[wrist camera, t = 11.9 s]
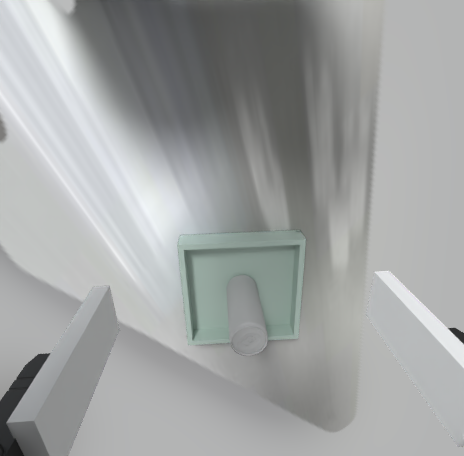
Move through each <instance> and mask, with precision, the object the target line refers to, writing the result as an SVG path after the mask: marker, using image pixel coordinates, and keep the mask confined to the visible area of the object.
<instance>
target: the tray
mask: <svg viewBox="0 0 464 456" xmlns="http://www.w3.org/2000/svg"><path fill="white" fill-rule="evenodd" d="M177 247H178V256H179V266H180V275H181V284H182V294H183V303H184V312H185V321H186V331H187V340H188V345H200V344H217V343H230V340H229V323H228V306H227V285H228V283H229V281H230V280H231V279H232V278H233V277H235V276H238V275H247V276H249V277H251V278H252V279H254V281H255V282H256V285H257V289H258V293H259V298H260V302H261V307H262V311H263V316H264V320H265V325H266V329H267V333H268V340H283V339H298V335H299V323H300V310H301V297H302V285H303V272H304V260H305V247H306V238H305V237H304V235H303V234H302V232H301V231H300V230H283V231H261V232H239V233H217V234H194V235H180V237H179V241H178V245H177Z"/></svg>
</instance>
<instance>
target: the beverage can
mask: <svg viewBox="0 0 464 456" xmlns="http://www.w3.org/2000/svg"><path fill="white" fill-rule="evenodd" d="M227 306H228V323H229V340H230V343H231V346H232V349H233V350H234V351H235V352H236V353H238V354H240V355H244V356H252V355H256V354H258V353H260V352H261V351H263V350H264V349H265V347H266V345H267V342H268V333H267V329H266V325H265V320H264V316H263V311H262V307H261V302H260V298H259V293H258V289H257V285H256V282H255V281H254V279H252V278H251V277H249V276H247V275H238V276H235V277H233V278H232V279H231V280H230V281H229V283H228V285H227Z"/></svg>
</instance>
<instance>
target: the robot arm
mask: <svg viewBox="0 0 464 456" xmlns="http://www.w3.org/2000/svg"><path fill="white" fill-rule="evenodd" d="M366 316H367V317H368V319H369V320H370V322H371V323H372V325H373V326H374V328H375V329H376V331H377V332H378V333H379V335H380V336H381V338H382V339H383V341H384V342H385V343H386V345H387V346H388V348H389V349H390V351H391V352H392V353H393V355H394V356H395V358H396V359H397V360H398V362H399V363H400V365H401V366H402V368H403V369H404V371H405V372H406V373H407V375H408V376H409V378H410V379H411V381H412V382H413V383H414V385H415V386H416V388H417V389H418V391H419V392H420V394H421V395H422V396H423V398H424V399H425V401H426V402H427V403H428V405H429V406H430V408H431V409H432V411H433V412H434V414H435V415H436V416H437V418H438V419H439V421H440V422H441V424H442V425H443V426H444V428H445V429H446V431H447V432H448V433H449V435H450V436H451V438H452V439H453V441H454V442H455V443H456V445H457V446H458V447H463V446H464V333H463V332H461V331H459V330H458V329H456V328H447V327H446V326H445V325H444V324H443V323H442V322H440V321H439V319H438V318H437V317H435V316H434V315H433V314H432V313H431V312H430V311H429V310H428V309H427V308H426V307H425V306H424V305H423V304H422V303H421V302H420V301H419V300H418V299H417V298H416V297H415V296H414V295H413V294H412V293H411V292H410V291H409V290H408V289H407V288H406V287H405V286H404V285H403V284H402V283H401V282H400V281H399V280H398V279H397V278H396V277H395V276H394V275H393V274H392V273H391V272H390V271H378V272H374V276H373V281H372V286H371V292H370V297H369V302H368V307H367V313H366ZM118 333H119V325H118V321H117V316H116V312H115V308H114V303H113V299H112V294H111V290H110V286H93V288H92V290H91V291H90V293H89V294H88V296H87V297H86V299H85V301H84V302H83V304H82V305H81V307H80V308H79V310H78V312H77V313H76V315H75V316H74V318H73V319H72V321H71V322H70V324H69V326H68V327H67V329H66V330H65V332H64V333H63V335H62V336H61V338H60V340H59V341H58V343H57V344H56V346H55V347H54V349H53V350H52V352H51V353H49V354H38V355H37V356H36V357H35V358H34V359H32V360H31V361H30V362H29V363H28V364H26V365H25V367H24V368H23V370H22V371H21V372H20V374H19V375H18V377H17V380H15V381H14V382H13V384H12V385H11V387H10V388H9V391H7V392H6V394H5V395H4V397H3V398H2V399H1V401H0V456H68V455H69V452H70V450H71V448H72V445H73V443H74V440H75V438H76V436H77V433H78V431H79V428H80V426H81V423H82V421H83V418H84V416H85V413H86V411H87V409H88V406H89V403H90V401H91V399H92V396H93V394H94V391H95V389H96V386H97V384H98V382H99V379H100V377H101V374H102V372H103V369H104V367H105V364H106V362H107V359H108V357H109V355H110V352H111V349H112V347H113V345H114V342H115V340H116V337H117V335H118Z"/></svg>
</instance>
